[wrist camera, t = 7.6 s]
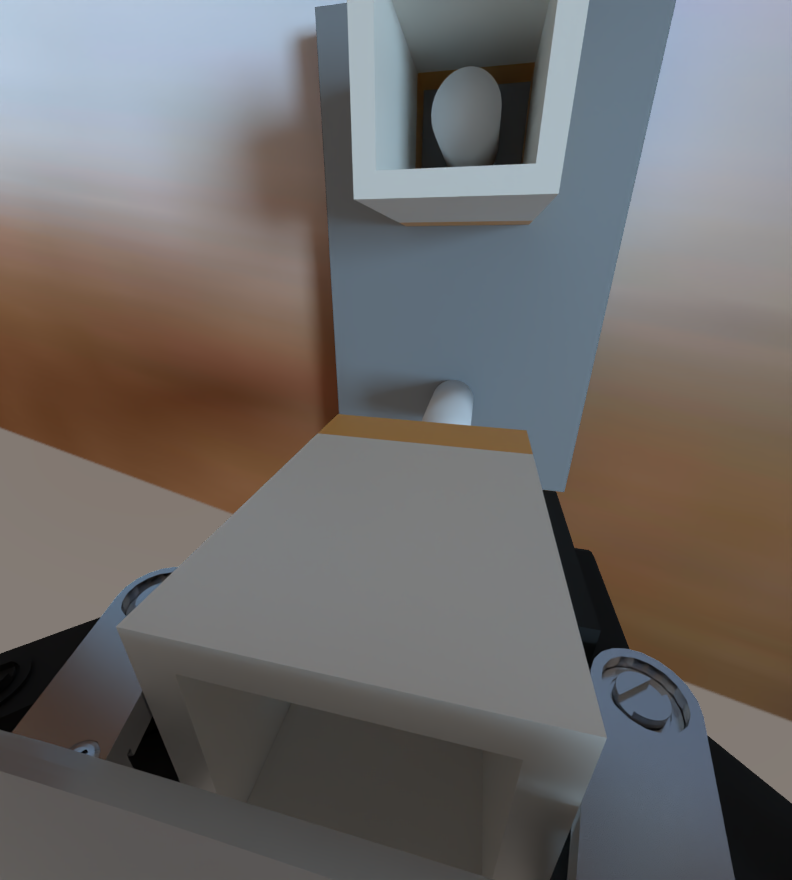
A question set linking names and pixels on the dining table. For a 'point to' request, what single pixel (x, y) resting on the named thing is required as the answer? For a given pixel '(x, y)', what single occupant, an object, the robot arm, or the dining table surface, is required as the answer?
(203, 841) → the robot arm
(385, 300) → the pin board
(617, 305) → the dining table surface
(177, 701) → the sleeve
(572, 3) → the seated sleeve
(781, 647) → the dining table surface
